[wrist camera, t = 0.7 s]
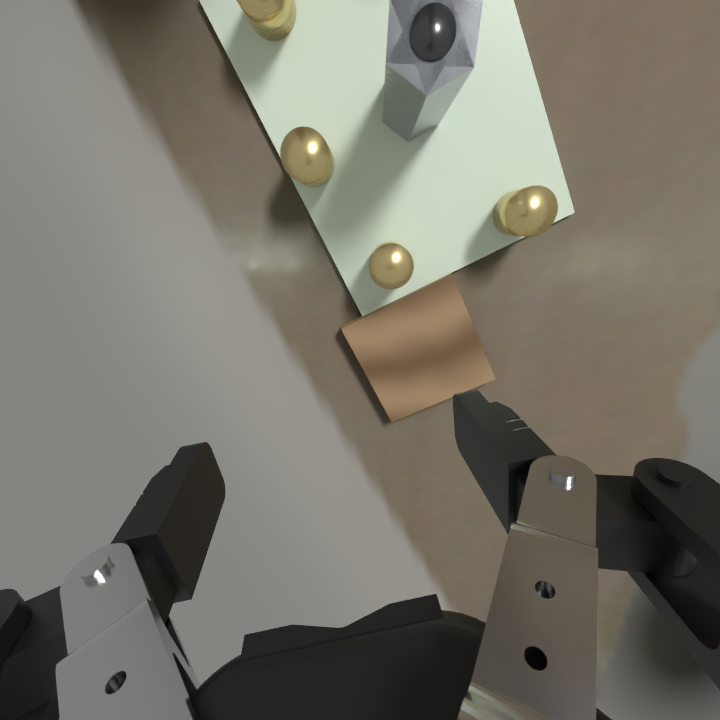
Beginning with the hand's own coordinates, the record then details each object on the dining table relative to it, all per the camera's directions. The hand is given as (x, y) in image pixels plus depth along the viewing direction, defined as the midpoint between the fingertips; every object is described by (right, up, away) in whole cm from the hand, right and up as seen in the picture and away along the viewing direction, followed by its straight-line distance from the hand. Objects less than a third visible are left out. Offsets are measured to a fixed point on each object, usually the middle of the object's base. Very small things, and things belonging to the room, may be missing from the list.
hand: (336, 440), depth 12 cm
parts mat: (+4, +20, +14) cm, 25 cm away
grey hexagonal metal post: (+4, +21, +13) cm, 25 cm away
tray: (+6, +4, +20) cm, 21 cm away
